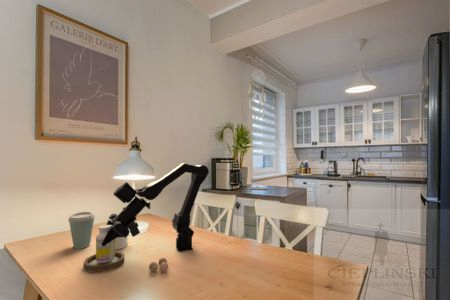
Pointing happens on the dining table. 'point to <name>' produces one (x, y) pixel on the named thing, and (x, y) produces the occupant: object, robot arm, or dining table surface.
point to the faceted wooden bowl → (103, 264)
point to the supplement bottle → (106, 251)
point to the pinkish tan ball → (163, 267)
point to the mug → (120, 242)
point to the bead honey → (162, 261)
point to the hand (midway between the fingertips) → (101, 242)
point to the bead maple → (153, 266)
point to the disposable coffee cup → (81, 228)
